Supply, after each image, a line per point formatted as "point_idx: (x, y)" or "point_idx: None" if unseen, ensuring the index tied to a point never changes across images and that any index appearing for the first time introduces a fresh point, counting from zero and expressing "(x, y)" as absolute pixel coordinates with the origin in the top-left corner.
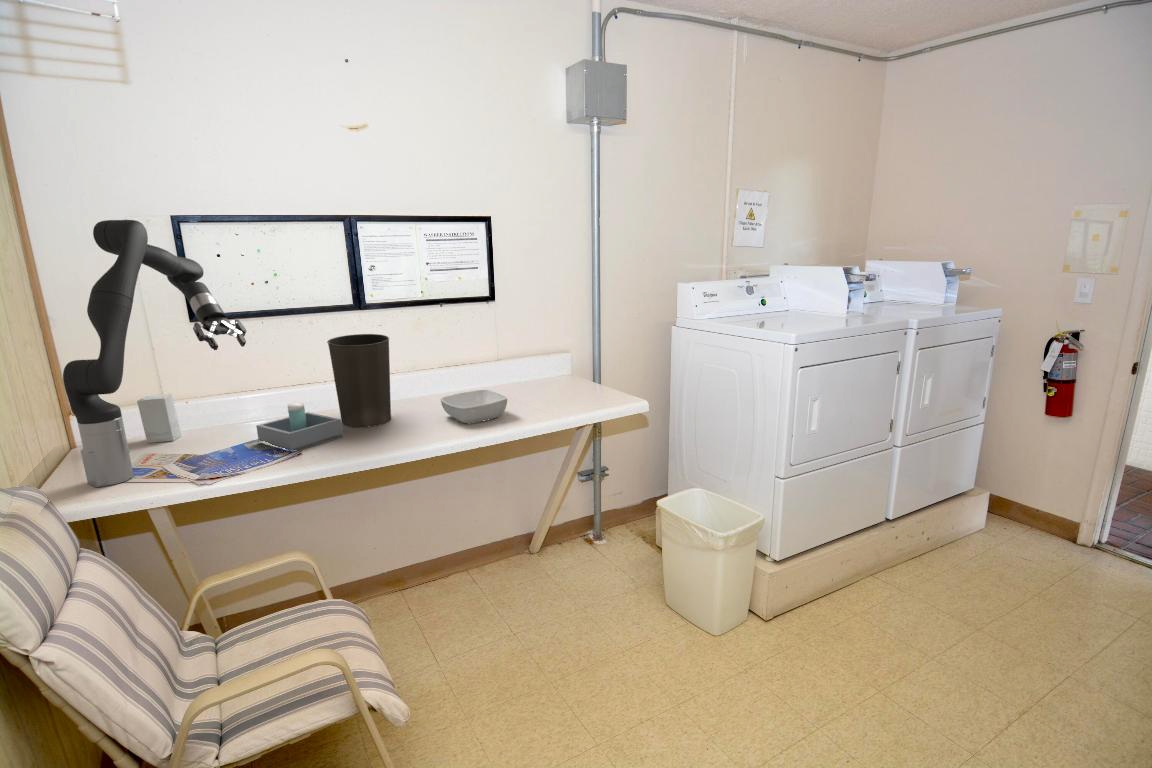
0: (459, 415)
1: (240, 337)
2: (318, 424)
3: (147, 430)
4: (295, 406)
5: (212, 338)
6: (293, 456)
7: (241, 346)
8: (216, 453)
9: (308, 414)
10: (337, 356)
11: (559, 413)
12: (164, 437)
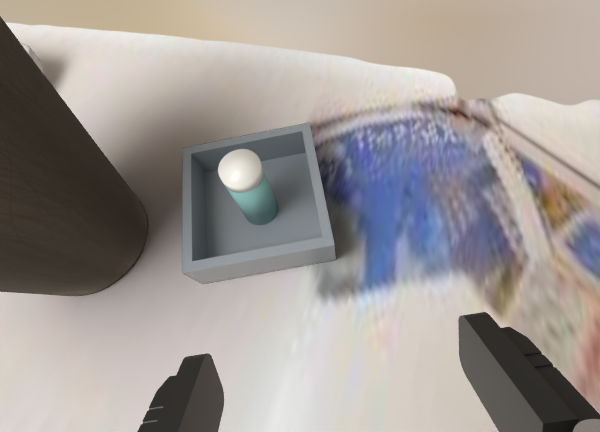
0: (40, 68)
1: (180, 415)
2: (234, 144)
3: None
4: (249, 150)
5: (547, 404)
6: (319, 127)
7: (223, 403)
8: (433, 258)
9: (192, 254)
10: (9, 70)
11: None
12: None
